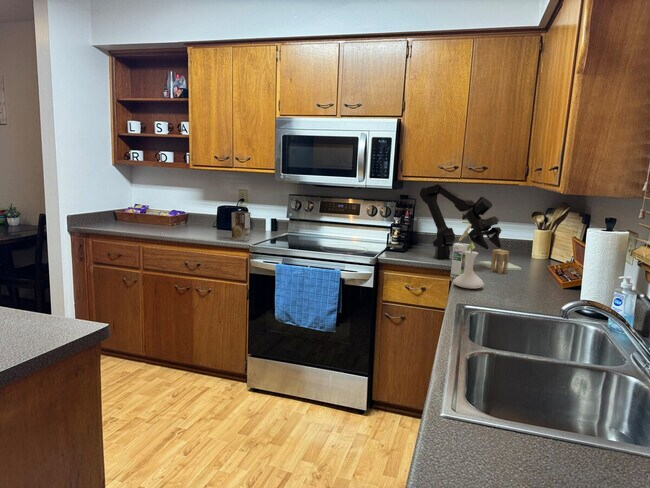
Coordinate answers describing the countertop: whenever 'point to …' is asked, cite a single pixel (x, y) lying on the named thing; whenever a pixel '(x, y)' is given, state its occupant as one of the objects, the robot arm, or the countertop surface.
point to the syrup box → (459, 259)
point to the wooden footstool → (499, 261)
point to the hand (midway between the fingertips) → (494, 248)
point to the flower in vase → (469, 268)
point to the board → (510, 267)
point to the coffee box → (241, 226)
